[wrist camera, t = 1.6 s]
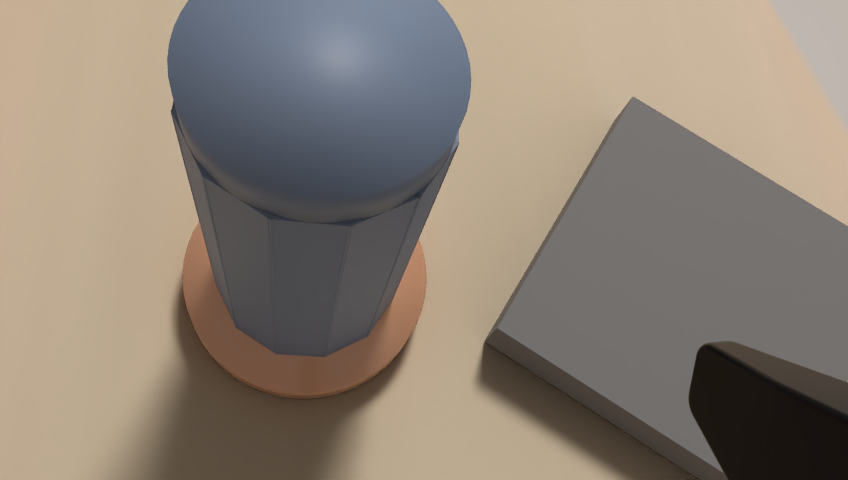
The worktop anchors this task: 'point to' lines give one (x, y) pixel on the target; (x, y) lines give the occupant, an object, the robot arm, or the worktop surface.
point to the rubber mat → (674, 282)
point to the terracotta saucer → (294, 371)
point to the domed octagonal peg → (314, 153)
